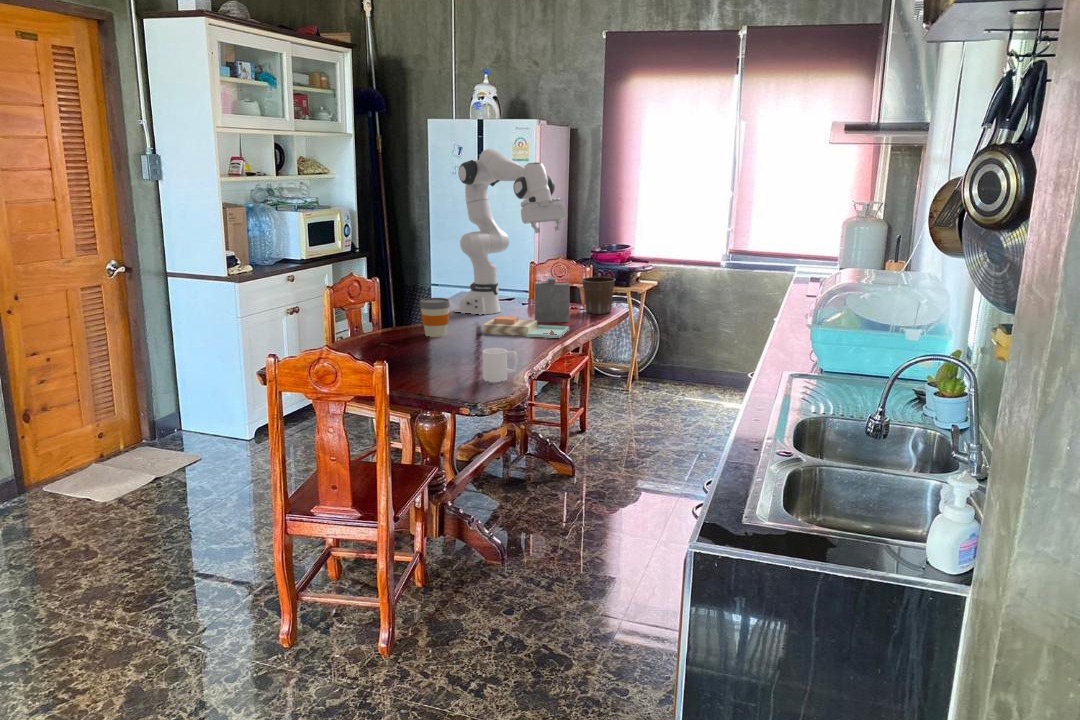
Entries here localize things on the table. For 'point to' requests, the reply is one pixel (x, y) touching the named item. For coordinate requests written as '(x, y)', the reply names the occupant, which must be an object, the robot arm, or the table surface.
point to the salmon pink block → (505, 320)
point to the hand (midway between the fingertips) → (547, 231)
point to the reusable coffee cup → (435, 316)
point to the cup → (496, 364)
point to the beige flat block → (510, 327)
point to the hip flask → (552, 301)
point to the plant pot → (598, 294)
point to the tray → (547, 329)
